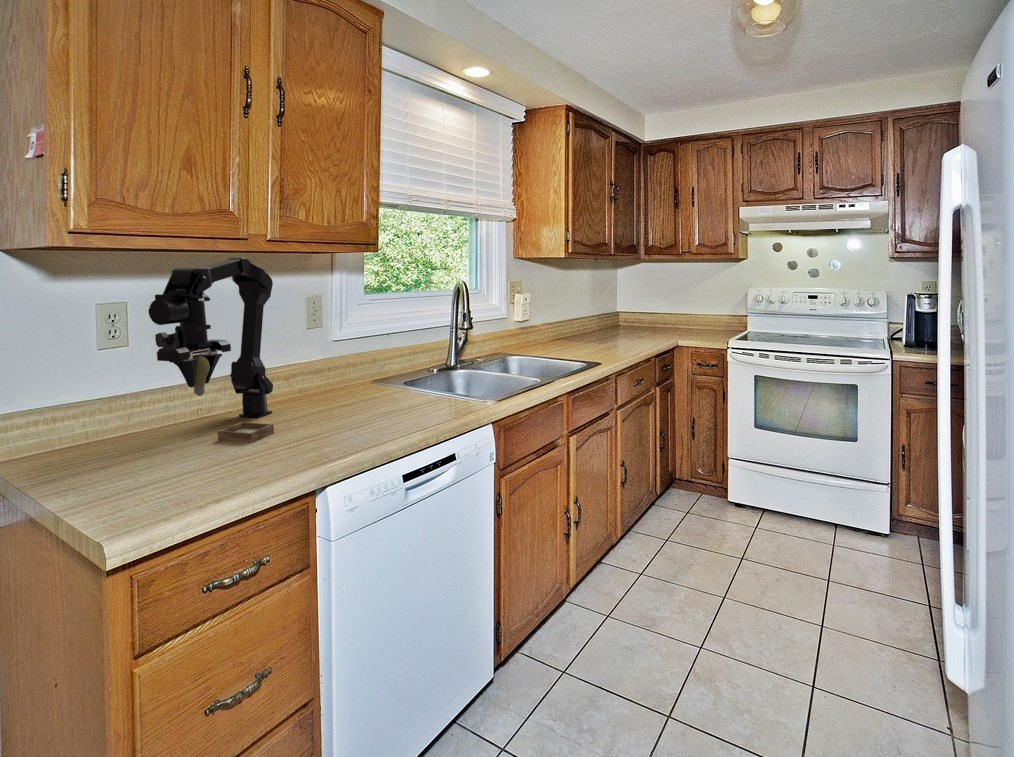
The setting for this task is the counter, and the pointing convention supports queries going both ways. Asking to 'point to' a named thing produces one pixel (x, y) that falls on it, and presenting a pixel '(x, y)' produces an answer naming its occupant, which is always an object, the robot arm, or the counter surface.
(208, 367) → the light bulb
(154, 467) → the counter surface
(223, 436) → the tray
